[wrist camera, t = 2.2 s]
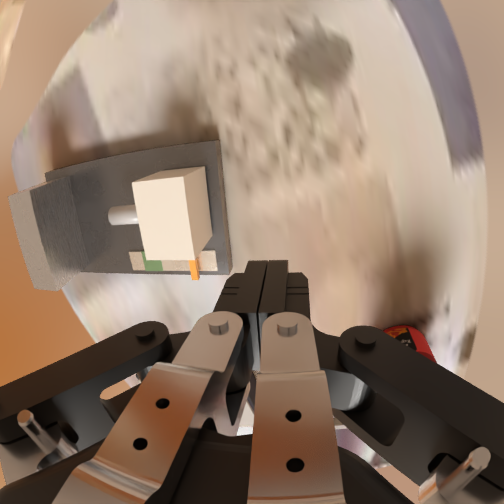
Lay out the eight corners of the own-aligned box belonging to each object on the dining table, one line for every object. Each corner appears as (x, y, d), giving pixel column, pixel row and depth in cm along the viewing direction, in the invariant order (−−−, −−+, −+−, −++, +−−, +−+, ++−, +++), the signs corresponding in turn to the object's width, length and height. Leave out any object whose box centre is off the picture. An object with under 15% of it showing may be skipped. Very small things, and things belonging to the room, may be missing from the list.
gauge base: (53, 170, 27) (5, 186, 20) (219, 139, 24) (190, 145, 17) (75, 266, 32) (37, 296, 25) (232, 267, 28) (213, 312, 22)
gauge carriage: (122, 176, 24) (89, 188, 20) (204, 166, 23) (183, 176, 19) (142, 275, 28) (118, 301, 24) (217, 276, 27) (203, 306, 22)
